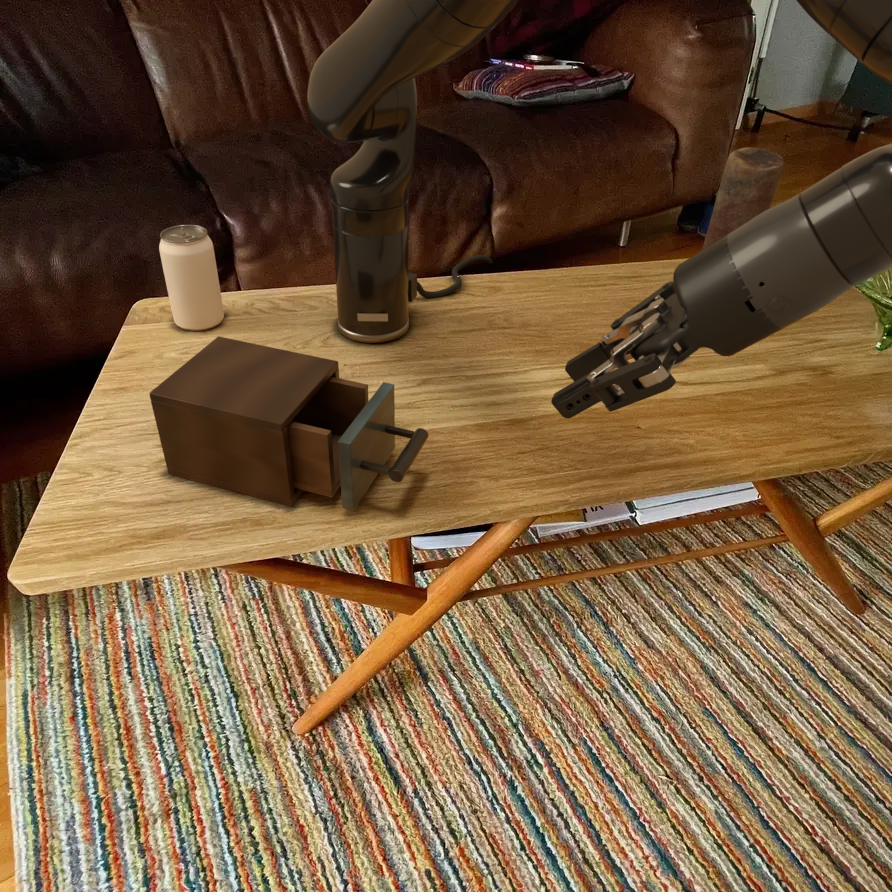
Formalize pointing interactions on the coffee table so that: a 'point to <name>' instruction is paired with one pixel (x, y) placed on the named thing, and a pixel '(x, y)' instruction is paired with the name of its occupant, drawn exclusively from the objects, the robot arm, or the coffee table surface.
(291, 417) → the cabinet
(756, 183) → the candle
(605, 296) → the coffee table surface
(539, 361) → the coffee table surface
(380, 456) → the drawer
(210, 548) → the coffee table surface
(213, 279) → the can
